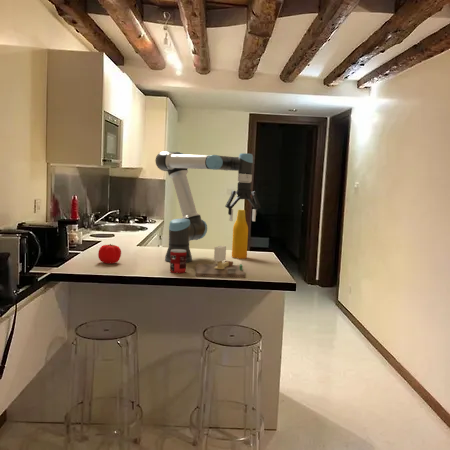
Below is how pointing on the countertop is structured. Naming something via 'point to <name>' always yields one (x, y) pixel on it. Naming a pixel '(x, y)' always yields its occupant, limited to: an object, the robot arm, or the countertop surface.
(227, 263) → the tuning peg
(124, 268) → the countertop surface
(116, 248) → the tomato
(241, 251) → the beer bottle
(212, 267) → the gauge plate
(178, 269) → the canned food
